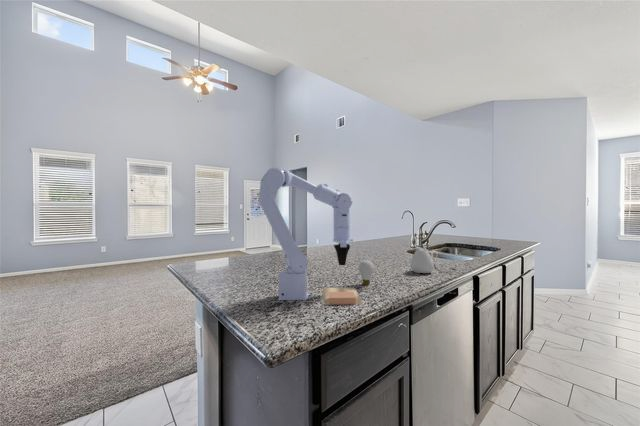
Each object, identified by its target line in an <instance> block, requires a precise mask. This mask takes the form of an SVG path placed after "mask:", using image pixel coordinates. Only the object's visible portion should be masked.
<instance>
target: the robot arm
mask: <svg viewBox="0 0 640 426" xmlns="http://www.w3.org/2000/svg"><path fill="white" fill-rule="evenodd" d="M259 184H260V186H259V192H258V197H257V198H258V203H259V206H260V208H262V209H261V210H262V211H263V213H264V215H265V217H266V219H267V221H268V223H269V224H270V226H271V229H272V231H273V232H274V235H275V237H276V239H277V240H278V243H279V245H280V247H281V248H282V253H283V254H284V263H285V264H286V265H287V266H286V268H285V271H280V272H279V275H278V301H283V300H285V301H286V300H287V301H290V300H291V301H294V300H297V301H298V300H300V301H301V300H302V301H303V300H304V301H305V300H307V301H308V299H309V292H310V291H309V292H308V274H307V273H308V272H307V271H308V269H307V268H308V266H309V258H308V257H307V256H306V255H305V254H304V253H303V252H302V251H301V249H300V246H299V245H297V243H296V241H295V240H294V238H293V235H292V233H291V232H290V228H289V226H288V225H287V223H286V221H285V219H284V217H283V215H282V213H281V211H280V209H279V207H278V205H277V203H276V201H275V199H276V197H277V194H278V191H279V189H281V187H282V188H284V187H294V188H296V189H299V190H302V191H304V192H307V193H309V194H312V195H313V198H314V199H315V200H316V201H319V202H321V203H324V204H326V205H329V206H331V207H332V208H333V240H332V242H333V243H337V244H334V245H333V247H334V249H335V252H336V257H337V261H338V265H339V266H346V263H347V256H348V253H349V251H350V248H351V246H350V244H349V243H350V242H353V241H354V239H353V238H351V237H350V234H351V233H350V230H351V229H350V208H351V207H352V205H353V201H352V198H351V197H350V195H349V194H348V193H344V192H341V193H340V190H339V189H334V188H332V187H329V184H327V183H320V184H318V185H316V184H314V183H312V182H310V181H308V180H306V179H304V178H302V177H300V176H298V175H296V174H294V173H292V172H290V171H288V170H284V169H281V168H279V167H271V168H269V169H268V170H267V171H266V173H264V175H263V176H262V179H261V180H260V182H259Z"/></svg>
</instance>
